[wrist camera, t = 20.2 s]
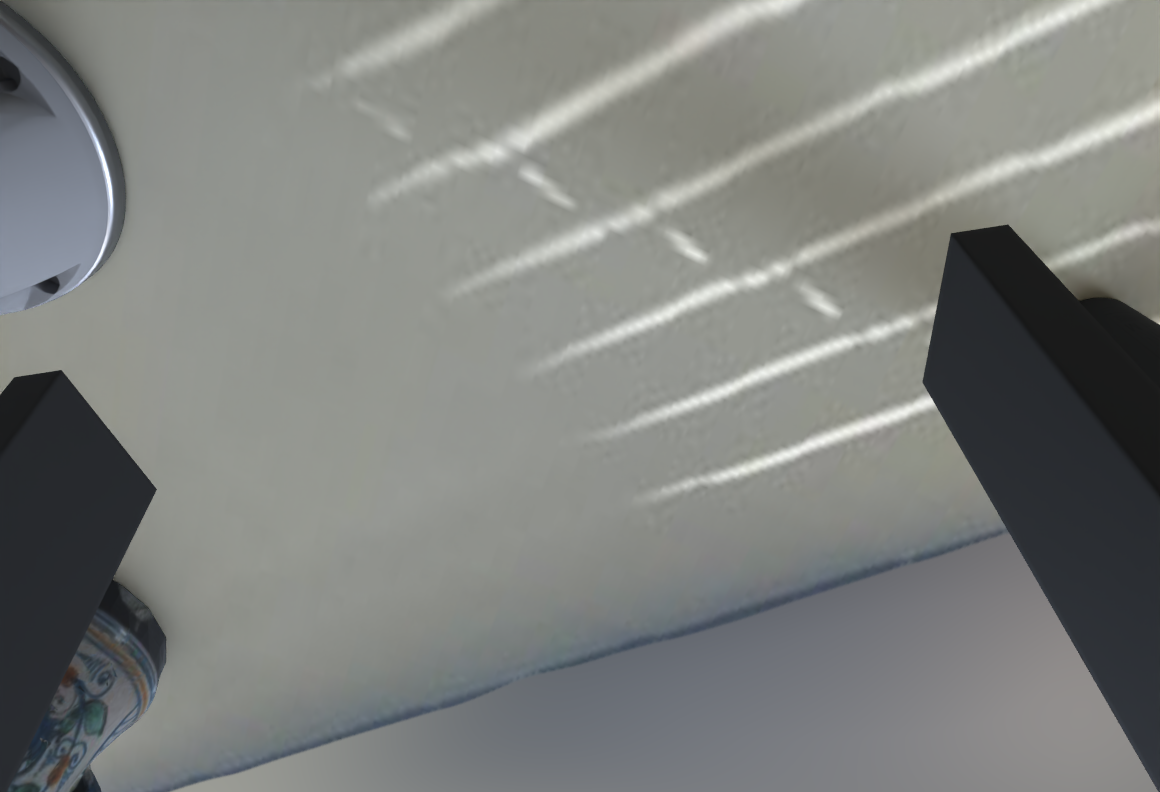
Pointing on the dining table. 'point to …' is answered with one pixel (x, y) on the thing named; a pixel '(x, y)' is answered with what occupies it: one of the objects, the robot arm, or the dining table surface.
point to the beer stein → (96, 696)
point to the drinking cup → (1130, 332)
